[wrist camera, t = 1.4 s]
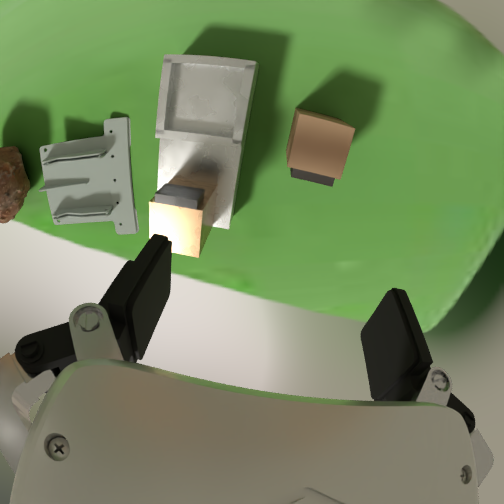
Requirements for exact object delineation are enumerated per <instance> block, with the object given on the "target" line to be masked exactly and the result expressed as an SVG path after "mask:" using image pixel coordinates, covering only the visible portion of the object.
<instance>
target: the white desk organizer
mask: <svg viewBox="0 0 504 504" xmlns="http://www.w3.org/2000/svg"><path fill="white" fill-rule="evenodd" d="M259 66H260V65H259V64H258V63H257V62H256V61H250V60H243V59H235V58H226V57H215V56H200V55H164V60H163V67H162V75H161V82H160V91H159V100H158V110H157V122H156V136H155V138H160V147H159V167H158V191H157V192H156V193H155V196H154V197H153V198H152V199H151V200H150V201H149V217H150V238H151V237H152V235H153V234H154V233H156V234H160V235H165V236H168V240H170V241H172V252H174V253H179V254H183V255H188V256H193V257H198V258H199V256H200V254H201V251H202V249H203V247H204V244H205V242H206V240H207V237H208V235H209V233H210V231H211V228H212V226H214V227H219V228H225V229H229V227H230V224H231V221H232V218H233V214H234V208H235V201H236V195H237V189H238V183H239V177H240V171H241V165H242V159H243V153H244V147H245V141H246V136H247V130H248V124H249V119H250V113H251V108H252V102H253V97H254V92H255V86H256V81H257V76H258V71H259Z"/></svg>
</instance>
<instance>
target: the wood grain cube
mask: <svg viewBox="0 0 504 504" xmlns="http://www.w3.org/2000/svg"><path fill="white" fill-rule="evenodd" d="M354 131H355V128H353V127H352V126H350V125H349V124H347V123H346V122H344V121H342V120H341V119H338V118H334V117H330V116H327V115H323V114H319V113H315V112H311V111H307V110H303V109H299V108H295V113H294V117H293V122H292V126H291V131H290V135H289V140H288V144H287V149H286V155H287V167H291V168H290V170H291V177H294V178H298V179H303V180H307V181H311V182H315V183H319V184H324V185H328V186H333V183H334V179H335V178H336V179H341V176H342V173H343V169H344V166H345V163H346V159H347V156H348V153H349V149H350V146H351V142H352V138H353V135H354Z"/></svg>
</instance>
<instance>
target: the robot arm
mask: <svg viewBox="0 0 504 504" xmlns="http://www.w3.org/2000/svg"><path fill="white" fill-rule="evenodd" d="M171 257H172V241H170V240H168V236H165V235H160V234H156V233H154V234H153V235H152V237H151V238H150V239H149V241H148V242H147V243H146V245H145V246H144V248H143V249H142V251H141V252H140V253H139V255H138V256H137V258H136V259H135V261H131V260H129V261H127V262H126V264H125V265H124V266H123V268H122V269H121V271H120V272H119V274H118V275H117V277H116V278H115V279H114V281H113V282H112V284H111V285H110V287H109V289H108V290H107V291H106V293H105V294H104V296H103V298H102V299H101V301H100V302H99V304H95V303H85V304H82V305H79V306H77V307H76V308H75V309H74V310H73V311H72V312H71V314H70V317H69V322H67V323H64V324H60V325H58V326H54V327H51V328H48V329H45V330H42V331H38V332H35V333H32V334H29V335H27V336H24V337H23V338H22V339H21V340H20V341H19V342H18V344H17V345H16V349H15V353H13V354H12V355H10V353H7V354H6V355H5V356H3V357H2V358H0V450H1V452H2V454H3V455H4V457H5V459H6V461H7V462H8V464H9V465H10V467H11V469H12V470H13V472H14V473H15V480H14V484H13V488H12V493H11V499H10V504H479V498H478V497H479V496H478V487H479V485H480V484H481V483H482V481H483V480H484V478H485V477H486V475H487V474H488V472H489V471H490V469H491V468H492V465H493V461H494V459H493V454H492V452H491V450H490V449H489V447H488V445H487V444H486V442H485V440H484V439H483V437H482V435H481V434H480V432H479V431H478V429H477V428H476V429H475V430H474V428H475V418H474V415H473V413H472V412H471V411H470V409H469V408H467V407H466V406H465V405H464V404H463V403H462V402H461V401H460V400H459V399H458V398H456V397H455V396H454V395H453V394H452V393H451V390H452V381H451V378H450V376H449V375H448V373H447V372H446V371H445V370H444V369H442V368H440V367H433V368H432V369H431V368H430V365H431V364H432V363H433V361H432V358H431V355H430V352H429V349H428V346H427V344H426V341H425V338H424V335H423V333H422V330H421V327H420V325H419V322H418V320H417V317H416V315H415V312H414V310H413V307H412V305H411V303H410V300H409V298H408V296H407V293H406V291H405V290H402V289H397V288H392V289H391V290H389V291H387V293H386V294H385V296H384V297H383V299H382V301H381V302H380V304H379V305H378V307H377V308H376V310H375V311H374V313H373V314H372V316H371V317H370V319H369V320H368V322H367V323H366V325H365V326H364V327H363V329H362V331H361V341H362V346H363V351H364V356H365V362H366V368H367V373H368V379H369V385H370V391H371V397H372V399H374V401H356V400H337V399H325V398H312V397H303V396H294V395H287V394H279V393H272V392H265V391H259V390H253V389H247V388H242V387H236V386H231V385H226V384H221V383H216V382H212V381H207V380H203V379H198V378H194V377H190V376H186V375H181V374H177V373H174V372H170V371H166V370H162V369H159V368H155V367H150V366H146V365H142V364H139V363H136V362H137V360H138V359H139V360H141V359H142V358H143V356H144V354H145V351H146V349H147V346H148V344H149V341H150V339H151V337H152V334H153V332H154V330H155V327H156V325H157V323H158V321H159V318H160V316H161V314H162V311H163V309H164V307H165V305H166V302H167V300H168V298H169V295H170V286H171V285H170V284H171ZM43 393H46V395H45V397H44V399H43V401H42V403H41V405H40V407H39V410H38V411H37V414H36V416H35V418H34V421H33V423H31V421H30V418H29V411H30V408H31V406H32V405H33V404H34V403H35V402H37V401H38V400H39V398H38V397H39V396H41V395H42V394H43ZM66 439H67V440H66Z"/></svg>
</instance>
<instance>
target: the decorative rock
mask: <svg viewBox="0 0 504 504" xmlns="http://www.w3.org/2000/svg"><path fill="white" fill-rule="evenodd" d="M29 188H30V181H29V179H28V177H27V175H26V172H25V169H24V166H23V161H22V155H21V154H20V152H19V149H18V148H17V147H15V146H11V147H2V148H0V223H7V222H9V221H10V220H11V219H14V218H15V215H16V214H17V213H18V211H19V210H20V209H21V207H22V206H23V203H24V198H25V197H26V196H27V192H28V191H29Z"/></svg>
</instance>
